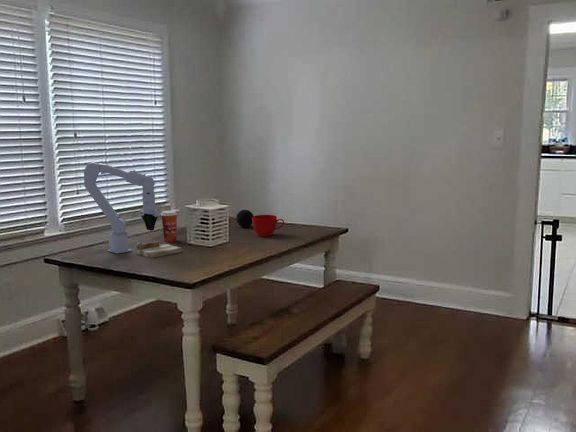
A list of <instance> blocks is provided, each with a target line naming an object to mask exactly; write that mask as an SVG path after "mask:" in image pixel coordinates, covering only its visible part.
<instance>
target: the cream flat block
mask: <svg viewBox="0 0 576 432" xmlns="http://www.w3.org/2000/svg"><path fill="white" fill-rule="evenodd" d="M159 245H160V246H156V247H150V248H144V249H136V248H135V250H134V251H135V254H137V255H140V256H144V257H147V258H149V259H153V258H158V257H163V256H169V255H173V254H179V253H182V247H180V246H179V247H178V246H176V245H172V244H168V243H161V244H159Z"/></svg>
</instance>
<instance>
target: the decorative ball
mask: <svg viewBox="0 0 576 432" xmlns="http://www.w3.org/2000/svg"><path fill="white" fill-rule="evenodd" d="M253 216H254V214H253V213H252V212H251V210H250V209H249V210H248V209H242V210H240V211H238V213H236V217H235V219H236V223H237V225H238V226H240V227H242V228H249V227H251V226H253V223H252V217H253Z"/></svg>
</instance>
